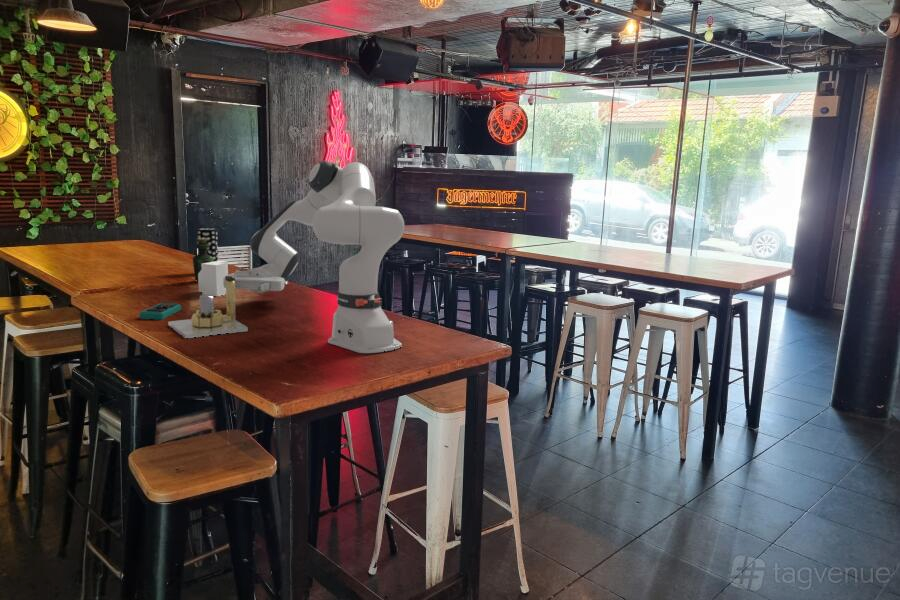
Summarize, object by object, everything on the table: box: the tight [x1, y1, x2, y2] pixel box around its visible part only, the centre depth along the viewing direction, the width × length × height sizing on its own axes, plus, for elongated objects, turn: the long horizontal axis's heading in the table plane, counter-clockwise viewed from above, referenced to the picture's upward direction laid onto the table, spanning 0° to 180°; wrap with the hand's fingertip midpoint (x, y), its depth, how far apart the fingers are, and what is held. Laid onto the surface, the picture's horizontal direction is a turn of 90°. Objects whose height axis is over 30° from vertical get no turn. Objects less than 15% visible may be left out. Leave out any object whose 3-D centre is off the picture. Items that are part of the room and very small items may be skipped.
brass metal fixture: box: [191, 276, 237, 327], centre depth 196 cm, size 14×8×14 cm, turn 146°
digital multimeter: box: [139, 302, 182, 321], centre depth 210 cm, size 7×15×3 cm, turn 179°
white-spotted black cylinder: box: [196, 227, 219, 262], centre depth 287 cm, size 8×8×20 cm
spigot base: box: [167, 294, 249, 340], centre depth 195 cm, size 20×18×10 cm
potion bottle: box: [192, 238, 213, 281], centre depth 268 cm, size 8×8×18 cm
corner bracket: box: [197, 260, 229, 297], centre depth 246 cm, size 11×11×12 cm
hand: (245, 287), depth 212 cm, fingers open, 8 cm apart
